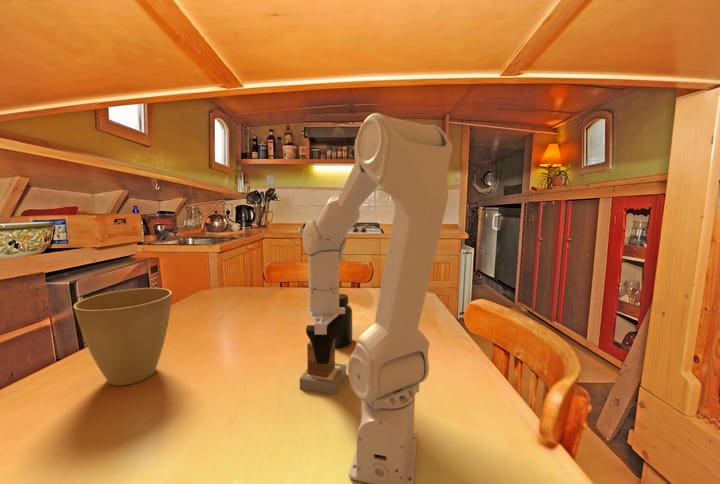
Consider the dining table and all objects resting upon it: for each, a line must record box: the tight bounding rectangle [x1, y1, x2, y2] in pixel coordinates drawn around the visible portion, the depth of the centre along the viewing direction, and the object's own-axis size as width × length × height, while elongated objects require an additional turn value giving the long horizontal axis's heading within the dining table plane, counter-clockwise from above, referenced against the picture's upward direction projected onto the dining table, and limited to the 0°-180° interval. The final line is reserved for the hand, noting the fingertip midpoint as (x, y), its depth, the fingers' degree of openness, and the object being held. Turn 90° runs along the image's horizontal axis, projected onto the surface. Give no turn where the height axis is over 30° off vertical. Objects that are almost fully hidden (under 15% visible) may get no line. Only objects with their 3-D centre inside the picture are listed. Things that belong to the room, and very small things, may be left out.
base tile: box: [299, 362, 347, 395], centre depth 59 cm, size 7×7×2 cm
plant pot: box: [72, 287, 173, 387], centre depth 59 cm, size 15×15×16 cm
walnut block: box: [306, 338, 336, 378], centre depth 58 cm, size 4×4×6 cm
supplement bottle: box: [335, 293, 353, 349], centre depth 75 cm, size 7×7×12 cm
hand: (323, 355), depth 58 cm, fingers open, 5 cm apart
